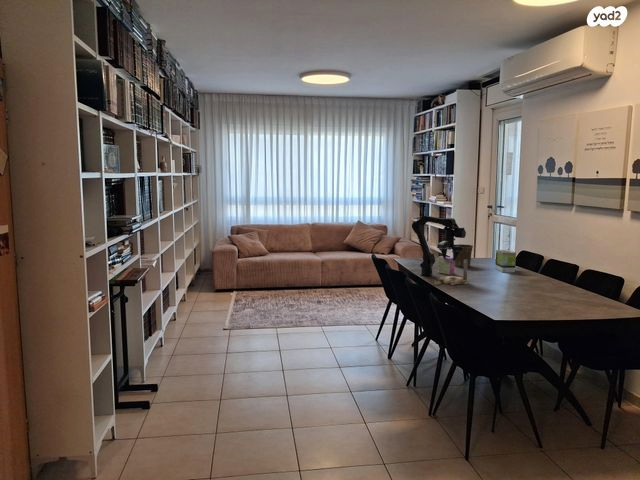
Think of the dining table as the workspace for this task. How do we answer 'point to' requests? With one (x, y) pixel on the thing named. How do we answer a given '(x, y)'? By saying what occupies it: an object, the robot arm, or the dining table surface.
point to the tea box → (505, 260)
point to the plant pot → (463, 255)
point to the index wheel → (456, 280)
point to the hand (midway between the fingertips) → (449, 259)
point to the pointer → (437, 282)
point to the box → (446, 265)
